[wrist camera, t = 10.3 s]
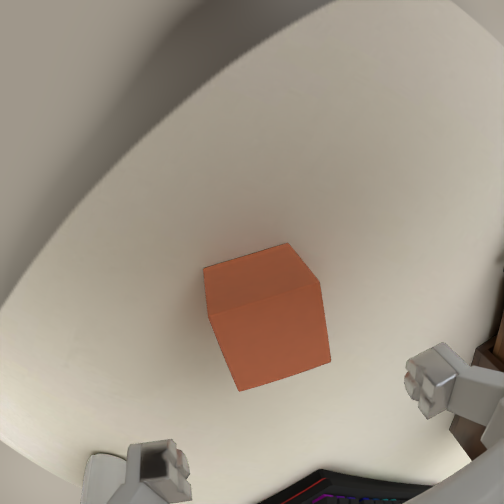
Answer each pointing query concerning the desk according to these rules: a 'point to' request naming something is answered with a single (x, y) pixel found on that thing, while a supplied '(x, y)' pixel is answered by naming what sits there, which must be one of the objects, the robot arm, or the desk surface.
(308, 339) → the block
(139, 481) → the robot arm
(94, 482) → the photo printer
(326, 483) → the keyboard
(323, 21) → the desk surface
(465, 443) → the cabinet
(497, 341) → the drawer
